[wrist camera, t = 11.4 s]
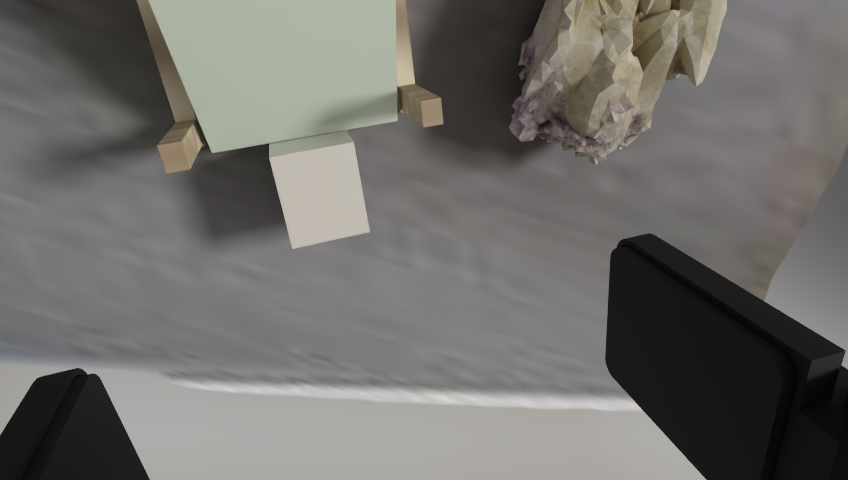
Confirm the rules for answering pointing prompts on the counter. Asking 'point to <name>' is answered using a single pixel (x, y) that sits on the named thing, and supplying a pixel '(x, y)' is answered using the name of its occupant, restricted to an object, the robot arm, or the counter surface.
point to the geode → (608, 68)
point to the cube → (319, 187)
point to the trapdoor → (282, 66)
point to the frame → (187, 132)
